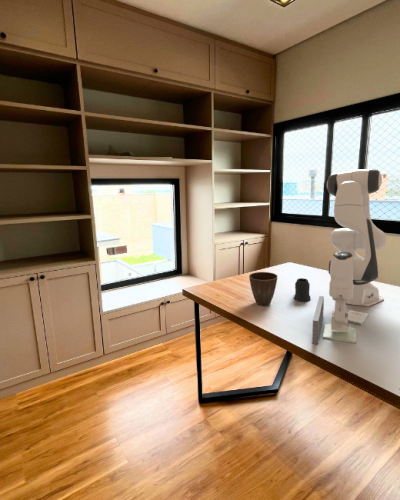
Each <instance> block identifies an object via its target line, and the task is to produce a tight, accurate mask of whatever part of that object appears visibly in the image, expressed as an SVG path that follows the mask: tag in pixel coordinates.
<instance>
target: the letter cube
mask: <svg viewBox="0 0 400 500" xmlns="http://www.w3.org/2000/svg"><path fill="white" fill-rule="evenodd" d="M334 316H335V310H332V312H331V323H330V325H331V330H337V331H343V332H347V331H348V327H349V326H348V325H349V322H348V311H347V312H346V311H345V321H344V322H342V328H339V327H337V322H336V321H335V320H334Z"/></svg>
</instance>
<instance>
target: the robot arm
mask: <svg viewBox="0 0 400 500" xmlns="http://www.w3.org/2000/svg"><path fill="white" fill-rule="evenodd" d="M382 183H383V177H382V174H381V171H379V170H378V169H376V168H369V169H353V170H348V171H347V170H346V171H343V172H334V173H332V174H330V175H329V176H328V179H327V181H326V189H327V192H328V194H330V195H331V196H334V197H335V199H334V204H333V205H334V207H333V208H334V209H333V215H334V216H333V217H334V220H335V222H336V223H337V224H338V225H339V226H341V227H342V228H341V227H340V228H335V229H334V230H333V231H331V233H330V236H329V242H330V244H331V246H333V247H334V248H335V249H336V250H337V251H336V252H334V253H333V254H332V256H331V259H330V261H329V262H328V274H329V276H330V280H329V289H328V290H329V292H328V294H329V296H330V297H331V299H332V300H333V301H334V303H335V304H334V311H335V316H334V320H335V321H336V322H337V327H339V328H342V322H344V321H345V312H346V304H348V305H353V306H364V307H370V306H372V305H373V306H374V305H375V304H378V303H381V302H383V301H384V300H385V298H384V297H383V296H382V295H380V293H379V292H380V291H379V288H378V287H377V286H375V285H374V284H373V283H372V282H373V281H375V280H377V279H378V278H379V276H380V271H381V268H380V264H379V261H378V258H377V251H380V250H382V249H383V248H384V247H385V246H386V244H387V235H386V234H385V232H384V231H383V230H381V229H380V228H378V227H377V226H376V225H375V224H374V223H373V221H372V219H371V213H370V195H371V194H373V193H376V192H377V191H379V190H380V187H381V186H382ZM356 250H357V251H364V255H365V256H361V255H359V254H358V253H357V251H356Z"/></svg>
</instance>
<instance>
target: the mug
mask: <svg viewBox="0 0 400 500" xmlns="http://www.w3.org/2000/svg"><path fill="white" fill-rule="evenodd" d="M294 284H295V285H294V286H295V287H294V289H295V293H294V295H293V300H294V301H296V302H299V303H300V302H301V303H309V302H310V301H312V299H311V296H310V288H311V287H310V282H309V279H307V278H301V277H300V278H297V279H296V282H295V283H294Z"/></svg>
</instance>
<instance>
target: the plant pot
mask: <svg viewBox="0 0 400 500" xmlns="http://www.w3.org/2000/svg"><path fill="white" fill-rule="evenodd" d="M248 277H249V284H250V289H251V292H252V295H253V298H254V302H255V304H256V305H257V306H260V307H268V306H270V305H271V303H272V300H273V299H274V294H275V292H276V288H277V287H276V286H277V284H278V283H277V282H278V275H277V274H276V273H274V272H268V271H267V272H266V271H259V272H258V271H257V272H252V273H250V274H249V275H248Z"/></svg>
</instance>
